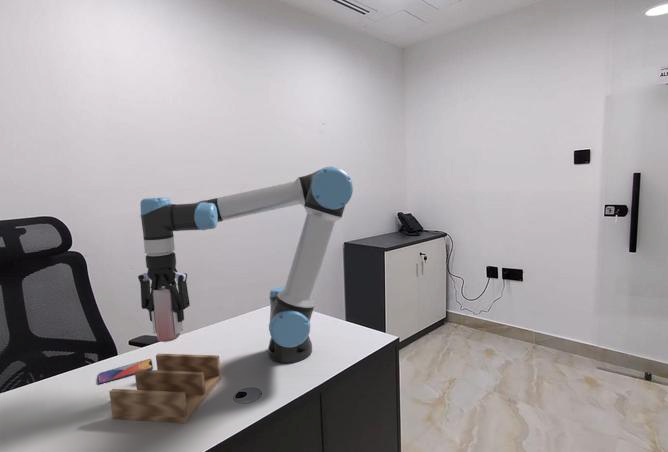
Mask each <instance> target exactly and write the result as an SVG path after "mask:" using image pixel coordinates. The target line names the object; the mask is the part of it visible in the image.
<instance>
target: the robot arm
mask: <svg viewBox="0 0 668 452" xmlns="http://www.w3.org/2000/svg"><path fill="white" fill-rule="evenodd" d="M353 192H354V185H353V181H352V179H351V177H350V175H348V173H347V172H346V171H344V170H343V169H341V168H338V167H335V166H326V167H322V168H321V169H319V170H316V171H314V172H312V173H309V174H306V175H303V176H298V177H297V178H296V179H295V180H294V181H290V182H286V183H281V184H276V185H272V186H268V187H263V188H257V189H253V190H249V191H244V192H243V191H242V192H239V193H233V194H230V195H224V196H221V197H217V198H210V199H206V200H205V199H204V200H199V201H198V202H193V203H179V204H177V203H176V204H175V203H172V202H171V199H170V198H169V197H147V198H146V197H145V198H143V199H141V201H140V221H141V228H142V234H143V235H142V236H143V237H142V238H143V247H144V248H143V249H144V253H145V254H146V255H145V266H146V267H145V268H146V269H147V273H146V272H145V273H142V274H139V275H138V276H137V278H138V282H139V283H140V299H141V309H142V310H145V309H146V310H147V311H148V314H149V315H148V316H149V321H150V322H152V330H153V334H154V335H155V334H156V335H157V331H156V321H155V312H154V302H153V289H154V290H155V289H157V288H159V287H161V286H165V288H166V290H168V289H169V290H170V293H171V300H172V303H173V305H174V308H175V311H174V312H173V318H174V328H175V334H179V333H180V334H181V332H183V330H184V327H183V322H184V321H185V320H184V319H185V313H184V311H185V310H186V309H187V308H189V307H190V306H191V305H190V303H191V302H190V298H189V297H190V296H189V292H188V291H189V290H188V286H187V285H188V283H187V279H188V273H185V272H184V273H180V272H179V271H178V270H177V268H176V267H177V257H176V252H174V251H175V250H176V249H175V247H176V246H175V237H174V236H175V234H174V232H180V231H206V230H214V229H216V228H217V226H218V223H221V222H223V221H229V220H233V219H238V218H242V217H247V216H251V215H256V214H260V213H265V212H269V211H273V210H279V209H283V208H289V207H292V206H297V205H301V206H303V208H304V209H305V212H306V217H305V220H304V223H303V227H302V230H301V233H300V237H299V240H298V244H297V246H296V250H295V253H294V256H293V259H292V262H291V267H290V270H289V273H288V276H287V280H286V283H285V285H284V286H279V287H275V288H273V289H271V290H270V291H269V301H270V304H269V305H270V312H269V324H268V331H269V335H270V340H269V344H268V348H267V352H268V353H267V355H268V357H269V359H271V361H274V362H277V363H282V364H285V363H286V364H290V363H291V364H292V363H297V362H300V361H303V360H305V359H307V358H308V357H309V356H310V355H311V354H312V352H313V343H312V340H311V338H310V331H311V323H310V322H311V318H312V316H313V313H314V308H315V306H316V303H315V300H314V299H313V294H314V291H315V288H316V285H317V281H318V277H319V275H320V272H321V269H322V265H323V262H324V258H325V255H326V252H327V248H328V246H329V243H330V238H331V236H332V233H333V229H334V226H335V223H336V222H338V221H339V220H341V219H342V217H343V214H344V211H345V208H346V205H347V204H349V201H350V200H351V198H352V196H353Z"/></svg>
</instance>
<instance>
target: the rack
mask: <svg viewBox="0 0 668 452" xmlns="http://www.w3.org/2000/svg"><path fill="white" fill-rule="evenodd" d="M155 361H156V369H152V370H136V371H135V375H134V377H135V378H134V379H135V385H136V389H124V388H123V389H121V388H112V389H111V390H109V397H110V398H109V399H110V401H109V402H110V406H111V407H110V408H111V415H112V419H114V420H124V421H125V420H128V421H129V420H130V421H144V422H160V423H173V424H186V423H187V422H188V421H189V419H190V418H192V416H193V414H194V413H195V412H196V411H197V409H198V408H199V407H200V405H202V404H203V402H204V400H206V399H207V397H208V396H209V395H210V393H211V392H212V391H213V390H214V388H215V387H216V386H217V385H218V383H219V382H220V381H221V380H222V376H221V375H222V374H221V363H220V361H221V360H220V355H215V354H213V355H212V354H210V355H208V354H185V353H182V354H181V353H157V354H156V355H155Z"/></svg>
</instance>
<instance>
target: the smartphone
mask: <svg viewBox="0 0 668 452" xmlns="http://www.w3.org/2000/svg"><path fill="white" fill-rule="evenodd" d="M136 370H154V367H153V361H152V359H151V358H148V359H143V360H140V361H137V362H133V363H130V364H127V365H123V366H118V367H116V368H112V369H108V370H106V371H102V372H99V373H98V376H97V385H99V386H100V385H104V383H105V384H107V383H111V381H112V382H114V381H118V380H122V379H127V378H129V377H133V376H135V371H136Z"/></svg>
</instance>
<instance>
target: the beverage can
mask: <svg viewBox="0 0 668 452" xmlns="http://www.w3.org/2000/svg"><path fill="white" fill-rule="evenodd" d="M153 302H154V312H155V321H156V331H157V333H156V336H157V337H156V338H157V340H158V342H162V343H167V342H172V341H176V340H177V339H178V338H179V336H180V335H181V332H180V333H179V334H175V328H174V318H173V312H174V311H175V308H174V305H173V303H172V300H171V293H170V290H169V289H168V290H166V288H165V286H161V287H159V288H157V289H155V290H154V289H153Z"/></svg>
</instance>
